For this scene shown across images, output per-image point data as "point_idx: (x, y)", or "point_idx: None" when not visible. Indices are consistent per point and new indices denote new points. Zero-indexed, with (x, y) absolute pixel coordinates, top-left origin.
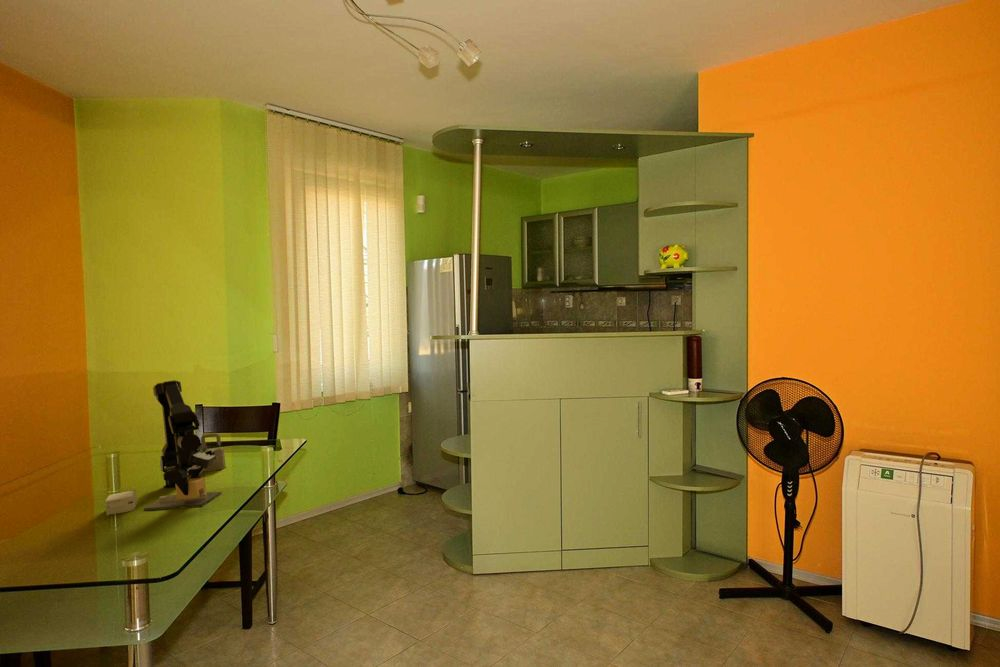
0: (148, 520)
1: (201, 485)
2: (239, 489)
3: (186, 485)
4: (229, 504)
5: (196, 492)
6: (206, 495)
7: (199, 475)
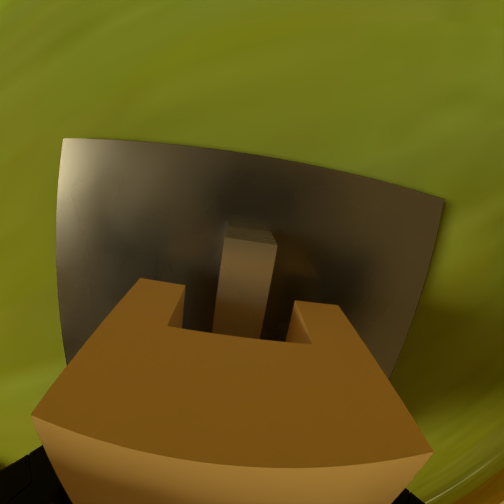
0: (476, 427)
1: (210, 362)
2: (30, 30)
3: (420, 500)
4: None
5: (358, 343)
6: (239, 233)
7: (8, 496)
